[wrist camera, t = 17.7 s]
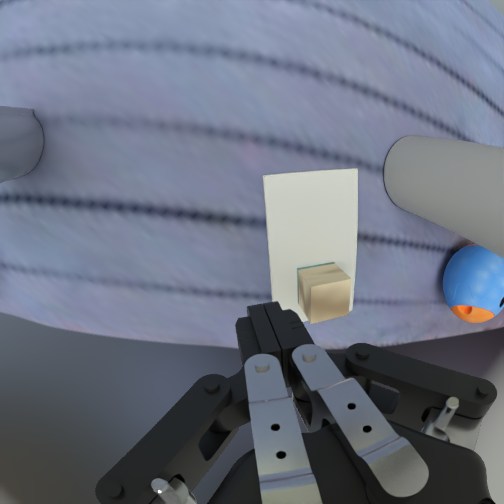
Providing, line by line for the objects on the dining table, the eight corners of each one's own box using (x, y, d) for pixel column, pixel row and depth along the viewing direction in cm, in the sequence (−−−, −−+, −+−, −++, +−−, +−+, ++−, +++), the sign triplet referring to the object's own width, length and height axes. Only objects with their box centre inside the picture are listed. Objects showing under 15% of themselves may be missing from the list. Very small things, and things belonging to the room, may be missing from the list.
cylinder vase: (370, 191, 42) (501, 249, 19) (397, 121, 39) (535, 133, 16) (419, 220, 46) (532, 280, 23) (444, 157, 42) (561, 190, 19)
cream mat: (262, 175, 39) (263, 175, 38) (355, 168, 40) (357, 168, 40) (273, 325, 48) (274, 327, 47) (350, 308, 49) (352, 310, 49)
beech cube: (310, 323, 41) (297, 302, 46) (348, 314, 41) (332, 295, 47) (311, 286, 38) (297, 268, 44) (351, 278, 39) (333, 261, 45)
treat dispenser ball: (482, 251, 52) (529, 278, 38) (449, 307, 56) (492, 343, 42) (454, 219, 47) (512, 247, 33) (417, 286, 51) (467, 327, 37)
